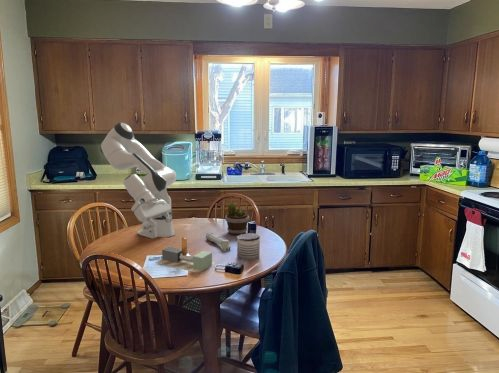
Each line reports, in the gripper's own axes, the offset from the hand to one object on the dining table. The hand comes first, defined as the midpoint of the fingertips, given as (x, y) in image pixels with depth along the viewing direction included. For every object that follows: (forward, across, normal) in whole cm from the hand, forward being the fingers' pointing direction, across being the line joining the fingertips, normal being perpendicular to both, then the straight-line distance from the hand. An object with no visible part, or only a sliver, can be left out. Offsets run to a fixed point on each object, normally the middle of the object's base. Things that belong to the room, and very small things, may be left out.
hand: (162, 223), depth 184 cm
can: (+38, -22, +12) cm, 46 cm away
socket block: (+29, 0, +4) cm, 29 cm away
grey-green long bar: (+22, -30, -5) cm, 38 cm away
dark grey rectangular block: (+16, 0, -8) cm, 18 cm away
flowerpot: (+20, -55, -6) cm, 59 cm away
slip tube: (+19, 0, -4) cm, 20 cm away
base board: (+22, 0, -4) cm, 23 cm away
